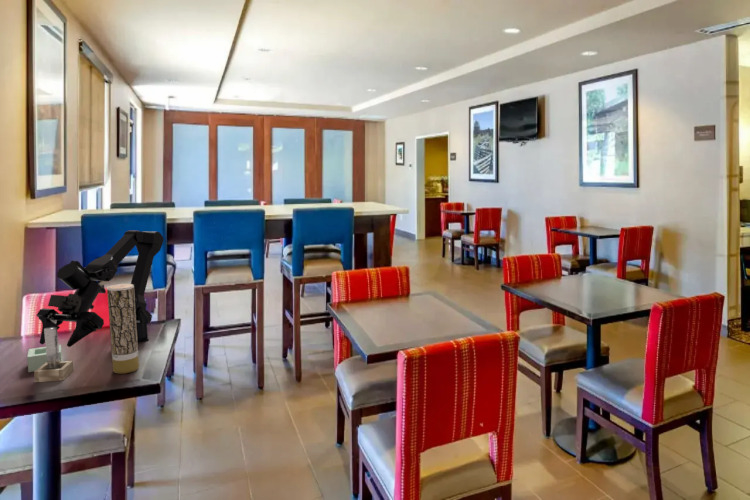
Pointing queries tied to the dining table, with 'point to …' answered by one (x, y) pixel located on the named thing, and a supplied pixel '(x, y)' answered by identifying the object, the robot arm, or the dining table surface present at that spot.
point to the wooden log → (123, 328)
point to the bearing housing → (53, 372)
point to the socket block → (38, 358)
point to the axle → (52, 348)
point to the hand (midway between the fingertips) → (54, 345)
